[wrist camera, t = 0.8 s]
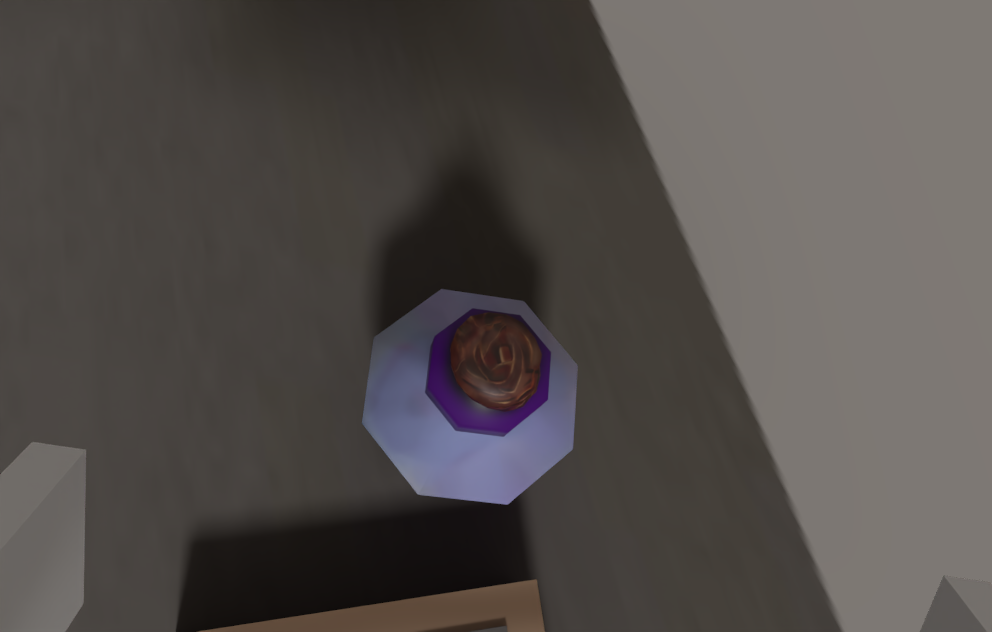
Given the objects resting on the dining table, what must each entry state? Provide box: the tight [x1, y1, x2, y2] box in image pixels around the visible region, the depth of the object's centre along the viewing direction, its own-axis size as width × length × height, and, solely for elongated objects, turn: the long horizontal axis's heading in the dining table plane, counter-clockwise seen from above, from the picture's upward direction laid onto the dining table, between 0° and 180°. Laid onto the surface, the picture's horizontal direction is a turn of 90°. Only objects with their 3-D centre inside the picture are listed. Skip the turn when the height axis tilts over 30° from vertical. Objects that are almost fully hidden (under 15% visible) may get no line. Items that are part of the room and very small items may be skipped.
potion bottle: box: [362, 289, 578, 505], centre depth 35 cm, size 9×9×12 cm
